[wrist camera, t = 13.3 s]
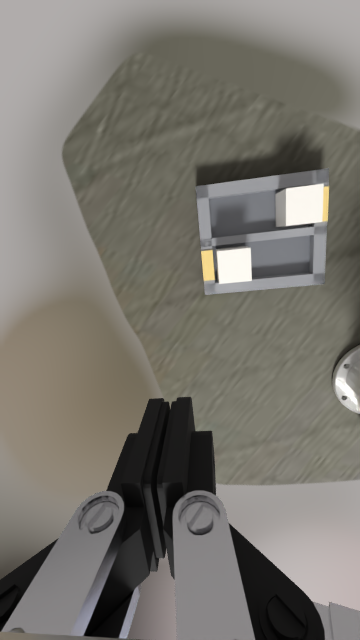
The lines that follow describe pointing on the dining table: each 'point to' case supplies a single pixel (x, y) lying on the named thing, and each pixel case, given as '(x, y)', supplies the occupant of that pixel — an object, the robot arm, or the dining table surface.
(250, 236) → the switch bank
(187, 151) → the dining table surface
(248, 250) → the tab
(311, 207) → the tab
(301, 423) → the dining table surface
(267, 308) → the dining table surface
